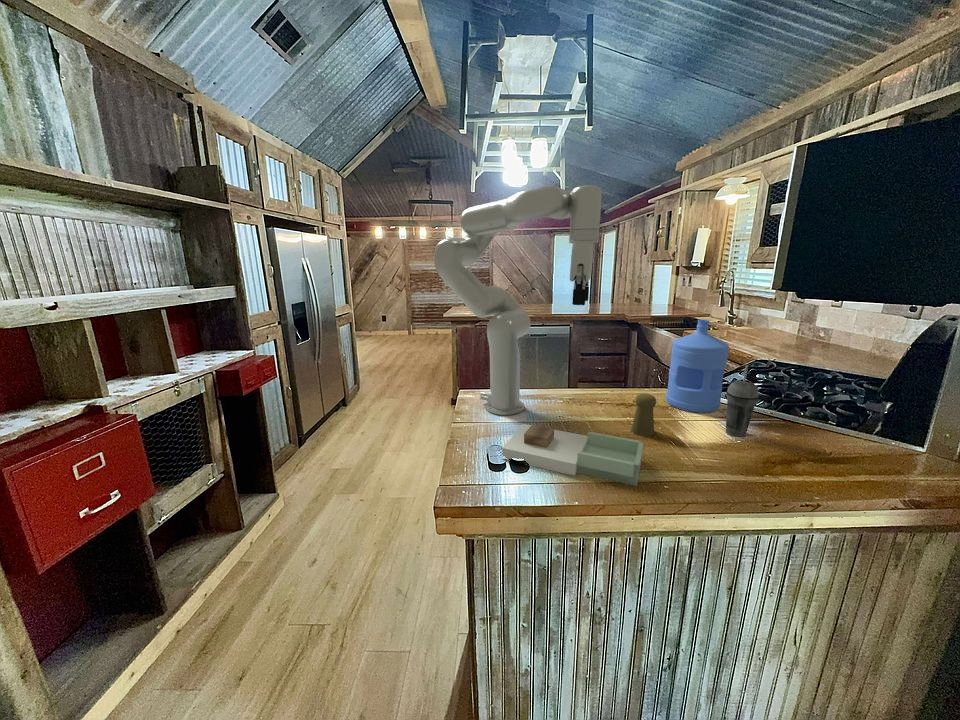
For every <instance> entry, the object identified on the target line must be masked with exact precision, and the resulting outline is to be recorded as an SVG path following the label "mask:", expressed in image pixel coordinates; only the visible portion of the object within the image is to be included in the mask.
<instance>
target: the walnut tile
mask: <svg viewBox="0 0 960 720" xmlns="http://www.w3.org/2000/svg"><path fill="white" fill-rule="evenodd" d="M530 425H531V426H530V428H529V429H528V430H527V431H526V432H525V434H524V443H526V444H531V445H535V446H540V447H545V448H547V447H548V446H549V444H550V443H551V441H552V440H553V438H554V430H555V428H553V427H547V426H541V425H536V424H530Z"/></svg>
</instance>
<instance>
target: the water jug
mask: <svg viewBox="0 0 960 720" xmlns="http://www.w3.org/2000/svg"><path fill="white" fill-rule="evenodd" d="M709 323H710V320H709V319H697V325H696V331H695V332H694V333H691V334H688V335H685V336H681V337H678V338H675V339H674V340H673V341H672V345H671V357H670V365H669V370H668V380H667V381H668V383H667V389H666V390H667V391H666V395H665V401H666V402H667V403H668V404H669V405H670V406H672V407H674V408H676V409H678V410H682V411H686V412H690V413H696V414H697V413H699V414H700V413H701V414H705V413H713V412H716V411H718V410H719V409H720V408H721V403H722V401H721V399H722V392H723V381H724V380H723V379H724V373H725V368H727V362H728V361H727V360H728V357H729V349H730V346H729V344H728V343H726V342H725V341H723V340H722V339H719V338H717V337H715V336H714V335H712V334H710V333H709V332H708V331H709Z"/></svg>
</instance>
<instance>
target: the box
mask: <svg viewBox="0 0 960 720" xmlns="http://www.w3.org/2000/svg"><path fill="white" fill-rule="evenodd" d="M586 436H587V445H586V447H585V449H584V451H583V452H580V451H578V456H577V473H578V474H582V475H585V476H590V477H595V478H599V479H602V478H603V480H606V479H608V481H611V480H612V481H611V482H615V481H617V482H616V483H619V482H623V483H622V484H624V483H627V484H626V485H628V484H631V485H630V486H632V485H635V486H634V487H638V483H639V480H640V479H639V478H640V471H641V466H642V459H643V451H644V442H645V441H642V440H636V439H632V438H625V437H621V436H615V435H610V434H603V433H599V432H592V431H588V432H587V435H586ZM577 473H576V474H577Z"/></svg>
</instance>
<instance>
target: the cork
mask: <svg viewBox="0 0 960 720" xmlns="http://www.w3.org/2000/svg"><path fill="white" fill-rule="evenodd" d="M656 404H657V399H656V397H655V396H654V395H653V394H650V393H639V394H638V395H637V396H636V397H635V405H636V409H635V414H634V417H633V420H632V421H633V422H632V424H631V430H630V431H631V433H632V432H633V433H632V434H634V435H636V436H638V437H639V436H640V437H644V436H645V438H646V437H647V436H649V437H652V436H651V435H653V434H654V435H655V421H654V420H655V419H654V408H655V406H656ZM654 435H653V436H654Z"/></svg>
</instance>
